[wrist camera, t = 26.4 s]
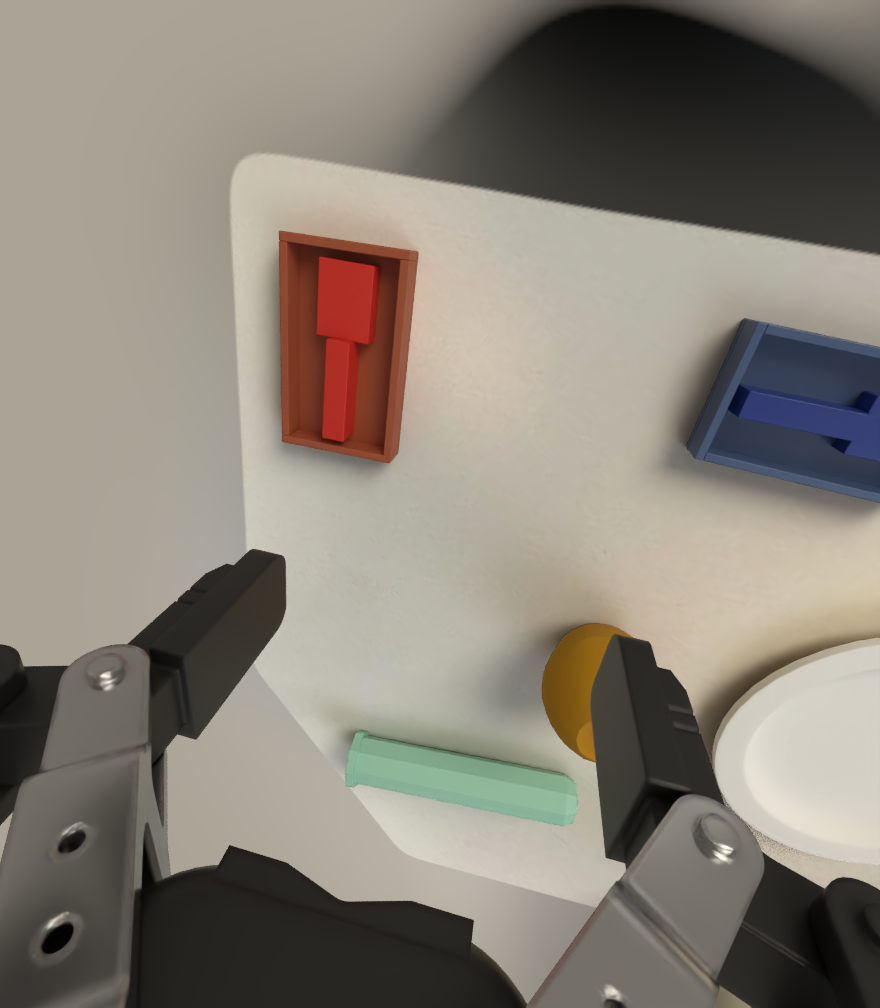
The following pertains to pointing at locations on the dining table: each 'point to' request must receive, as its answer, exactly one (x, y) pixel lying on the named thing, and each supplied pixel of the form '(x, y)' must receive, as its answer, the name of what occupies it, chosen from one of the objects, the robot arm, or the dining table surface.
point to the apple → (575, 684)
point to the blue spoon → (816, 417)
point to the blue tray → (800, 371)
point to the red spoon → (344, 335)
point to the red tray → (377, 360)
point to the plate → (809, 754)
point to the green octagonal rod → (462, 779)
